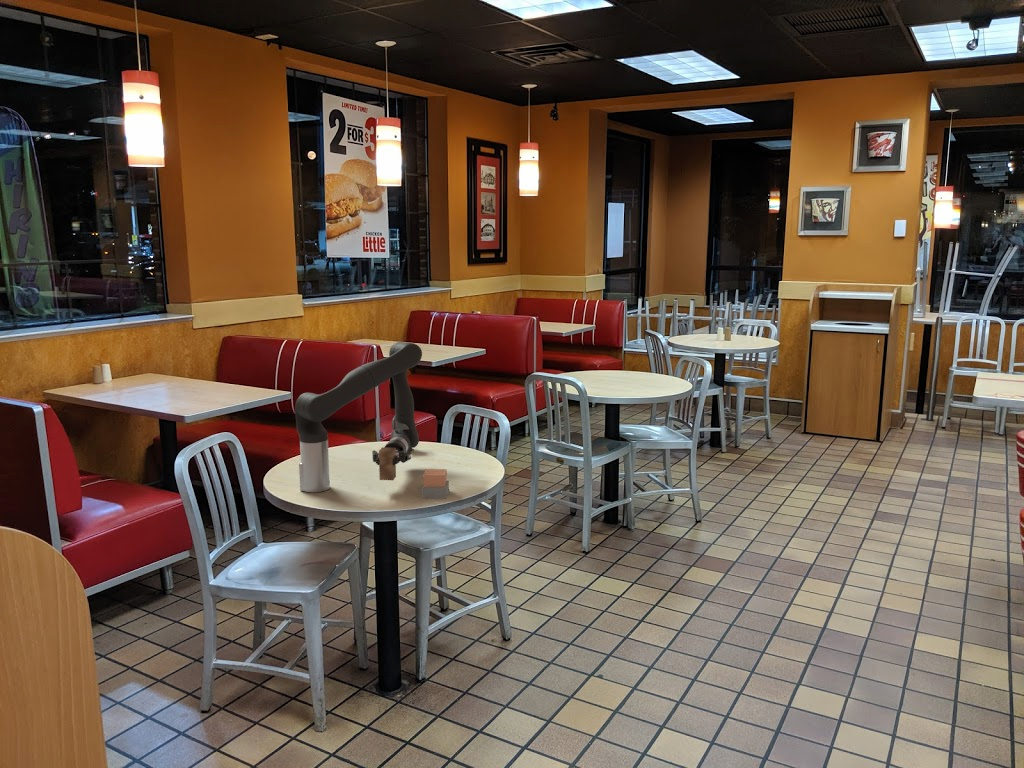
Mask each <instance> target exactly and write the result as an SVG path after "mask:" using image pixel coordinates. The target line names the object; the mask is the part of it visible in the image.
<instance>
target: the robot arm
mask: <svg viewBox="0 0 1024 768" xmlns="http://www.w3.org/2000/svg"><path fill="white" fill-rule="evenodd" d="M388 354H389V355H388V356H387V357H385V358H380V359H377V360H373V361H370V362H367V363H365V364H363V365H360V366H358V367H356V368H354V369H352V370H351V371H349V372H348V373H347V374H346V375H345V376H344V377H343V379H342V380H341V381H340V382H339V384H338V385H337V386H336V387H333V388H332V389H330V390H328V391H327V392H323V393H320V394H318V393H313V392H304V393H302V394H299V396H298V398H297V399H296V401H295V405H294V406H295V407H294V414H295V423H296V431H297V434H298V437H299V446H300V447H299V451H300V452H299V453H300V463H299V464H298V471H299V473H298V474H299V490H300V491H302V492H305V493H320V492H325V491H328V490H330V489H331V488H330V485H331V484H330V459H329V458H330V457H329V438H328V437H329V436H328V435H329V434H328V431H327V430H326V429H325V427H324V426H323V424H322V422H323V421H325V420H326V419H328V418H330V417H331V416H332V415H333V414H335V413H336V412H337V411H339V410H340V409H341V408H343V407H345V405H347V404H349V403H351V402H353V401H354V400H356V399H358V398H361V397H362V396H364V395H365V394H367V393H368V392H370V391H372V390H373V389H376V388H377V387H378V386H380V385H382V384H384V383H385V382H387V381H388V380H390V379H391V378H392V383H393V389H394V390H393V392H394V414H395V415H394V416H395V420H396V422H398V423H402V424H405V425H407V426H408V428H409V429H395V430H393V429H392V431H391V434H390V440H389V441H387V443H386V444H385V445H384V446H383V448H396V456H395V457H394V458H393V465H396V466H397V465H398V464H399V463H400V462H401V463H402V464H404V463H406V462H408V461H410V460H412V451H411V452H410V451H409V452H407V450H408V449H409V448H413V449H414V448H416V447H417V446H418V445H419V442H420V437H419V433H418V429H417V426H416V422H415V401H414V399H415V398H414V396H413V393H412V390H411V388H410V384H409V382H408V381H409V380H408V376H407V375H408V374H407V370H409V369H412V368H414V367H416V366H417V365H418V364H419V363H420V362H421V359H422V357H423V350H422V349H421V347H420V346H419V345H418V344H416V343H414V342H405V341H397V342H395V343H393V344H392V345H391V347H390V348H389V353H388ZM371 454H372V455H371V456H372V457H371V458H372V462H373V463H375V464H376V465H377V466H379V465H380V464H379V452H378V451H376V450H372V453H371Z"/></svg>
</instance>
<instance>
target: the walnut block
mask: <svg viewBox="0 0 1024 768" xmlns="http://www.w3.org/2000/svg"><path fill="white" fill-rule="evenodd" d="M378 453H379V464H380V465H378V469H379V470H378V471H379V481H394V480H395V479H396V477H397V464H396V465H393V458H394V457H395V456H396V448H384V446H383V447H380V449H379V450H378Z"/></svg>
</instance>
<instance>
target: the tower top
mask: <svg viewBox="0 0 1024 768" xmlns="http://www.w3.org/2000/svg"><path fill="white" fill-rule="evenodd" d="M422 476H423V478H422V481H423V482H422V483H423V484H424V487H445V484H446V481H447V480H448V479H447V477H448V475H447V469H445V468H443V469H441V468H438V469H436V468H434V469H432V468H425V470H424V472H423V475H422Z"/></svg>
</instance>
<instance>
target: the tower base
mask: <svg viewBox="0 0 1024 768" xmlns="http://www.w3.org/2000/svg"><path fill="white" fill-rule="evenodd" d="M449 492H450V480H448V479H447V481H446V484H445V487H424V483H423V484H422V486H421V499H447V497H448V494H449Z"/></svg>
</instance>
